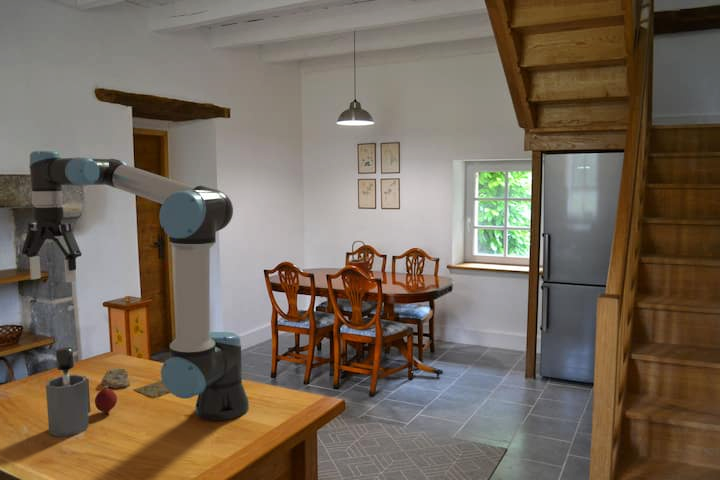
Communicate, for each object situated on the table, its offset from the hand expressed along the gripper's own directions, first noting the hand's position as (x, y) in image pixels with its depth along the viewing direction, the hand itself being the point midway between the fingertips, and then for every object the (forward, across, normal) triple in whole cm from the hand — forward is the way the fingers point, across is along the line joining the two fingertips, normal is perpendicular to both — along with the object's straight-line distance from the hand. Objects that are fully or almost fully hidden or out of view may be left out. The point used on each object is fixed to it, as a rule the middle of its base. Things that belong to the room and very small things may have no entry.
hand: (53, 280), depth 164 cm
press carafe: (+39, -13, +9) cm, 42 cm away
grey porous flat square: (+39, -16, -24) cm, 48 cm away
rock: (+39, 0, -22) cm, 45 cm away
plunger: (+35, -13, +9) cm, 39 cm away
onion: (+39, -14, -3) cm, 42 cm away
